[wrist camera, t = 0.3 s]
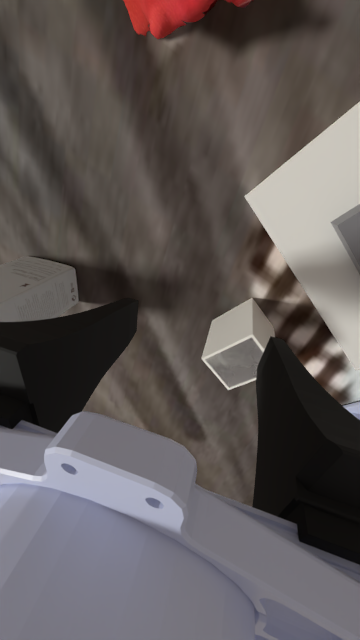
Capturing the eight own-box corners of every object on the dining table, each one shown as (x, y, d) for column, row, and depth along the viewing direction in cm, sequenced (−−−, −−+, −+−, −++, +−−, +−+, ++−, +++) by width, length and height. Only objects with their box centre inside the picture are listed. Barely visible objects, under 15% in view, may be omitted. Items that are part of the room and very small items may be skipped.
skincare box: (76, 265, 24) (-53, 326, 14) (80, 304, 26) (-26, 380, 16) (24, 254, 25) (-132, 303, 15) (33, 292, 27) (-96, 357, 17)
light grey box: (273, 327, 22) (280, 370, 17) (233, 346, 24) (228, 390, 19) (252, 297, 21) (252, 334, 16) (212, 320, 23) (201, 358, 18)
